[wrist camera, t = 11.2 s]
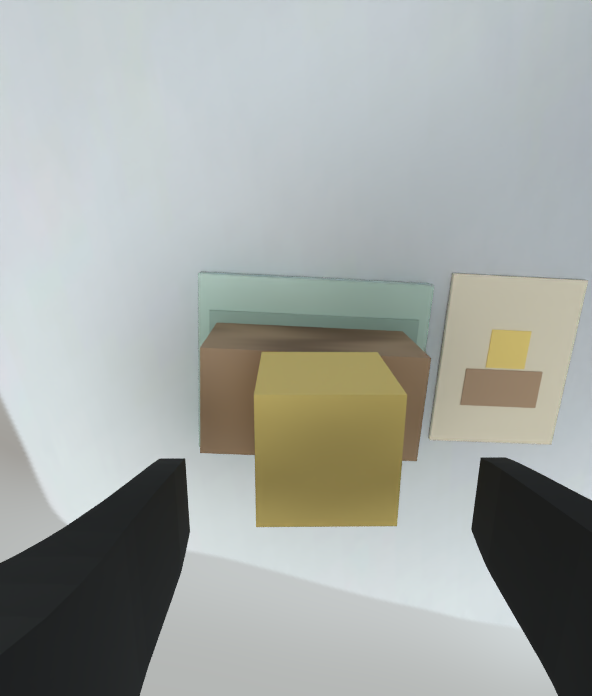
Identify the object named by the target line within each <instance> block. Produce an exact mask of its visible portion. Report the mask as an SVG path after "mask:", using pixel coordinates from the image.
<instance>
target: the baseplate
mask: <svg viewBox="0 0 592 696" xmlns="http://www.w3.org/2000/svg"><path fill="white" fill-rule="evenodd" d="M433 291H434V286H433V285H431V284H429V283H412V282H392V281H373V280H353V279H334V278H314V277H295V276H275V275H255V274H236V273H216V272H200V273H199V274H198V336H199V447H200V347H201V345H202V344H203V342H204V341H205V339H206V338H207V337H208V335H209V334H210V332H211V331H212V329H213V328H214V326H215V325H216V323H238V324H259V325H281V326H302V327H323V328H344V329H365V330H386V331H403V332H404V333H405V334H406V335H407V336H408V337H409V338H410V339H411V340H412V341H413V342H414V343H416V344H417V345H418V346H419V347H420V348H421V349H422V350H423V351H424V352H425V350H426V343H427V336H428V328H429V321H430V313H431V306H432V299H433Z"/></svg>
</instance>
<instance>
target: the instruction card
mask: <svg viewBox="0 0 592 696" xmlns="http://www.w3.org/2000/svg"><path fill="white" fill-rule="evenodd" d="M587 283H588V281H587V280H574V279H555V278H536V277H517V276H497V275H478V274H459V273H452V280H451V287H450V293H449V300H448V307H447V314H446V321H445V328H444V335H443V342H442V349H441V356H440V363H439V369H438V376H437V383H436V390H435V397H434V404H433V411H432V418H431V425H430V432H429V439H430V440H445V441H471V442H496V443H522V444H548V445H551V443H552V439H553V434H554V430H555V425H556V421H557V416H558V412H559V408H560V403H561V399H562V394H563V390H564V385H565V381H566V377H567V372H568V368H569V363H570V359H571V354H572V350H573V346H574V341H575V337H576V332H577V328H578V323H579V319H580V314H581V310H582V306H583V301H584V297H585V292H586V288H587Z"/></svg>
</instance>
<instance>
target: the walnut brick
mask: <svg viewBox="0 0 592 696" xmlns="http://www.w3.org/2000/svg"><path fill="white" fill-rule="evenodd" d="M262 352H378V353H379V355H380V356H381V358H382V359H383V361H384V362H385V364H386V365H387V366H388V368H389V369H390V371H391V372H392V374H393V375H394V376H395V378H396V379H397V381H398V382H399V384H400V385H401V386H402V388H403V389H404V391H405V392H406V394H407V405H406V417H405V430H404V442H403V455H402V461H417V455H418V448H419V441H420V434H421V427H422V419H423V412H424V405H425V398H426V391H427V384H428V376H429V369H430V362H431V358H430V357H429V356H428V355H427V354H426V353H425V352H424V351H423V350H422V349H421V348H420V347H419V346H418V345H417V344H416V343H414V342H413V341H412V340H411V339H410V338H409V337H408V336H407V335H406V334H405V333H404V332H403V331H386V330H365V329H344V328H323V327H302V326H281V325H259V324H238V323H216V325H215V326H214V328H213V329H212V331H211V332H210V334H209V335H208V337H207V338H206V339H205V341H204V342H203V344H202V345H201V347H200V453H215V454H242V455H255V432H254V391H255V386H256V380H257V375H258V369H259V364H260V359H261V353H262Z"/></svg>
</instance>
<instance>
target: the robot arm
mask: <svg viewBox="0 0 592 696" xmlns="http://www.w3.org/2000/svg"><path fill="white" fill-rule="evenodd" d="M471 530H472V532H473V535H474V538H475V540H476V543H477V545H478V548H479V550H480V553H481V555H482V557H483V560H484V562H485V564H486V567H487V569H488V571H489V572H490V574H491V576H492V578H493V580H494V581H495V583H496V585H497V587H498V588H499V590H500V592H501V594H502V595H503V597H504V599H505V601H506V602H507V604H508V606H509V608H510V609H511V611H512V613H513V614H514V616H515V618H516V620H517V621H518V623H519V625H520V626H521V628H522V630H523V632H524V633H525V635H526V637H527V638H528V640H529V642H530V644H531V645H532V647H533V649H534V651H535V652H536V654H537V656H538V657H539V659H540V661H541V663H542V665H543V666H544V668H545V670H546V672H547V674H548V676H549V678H550V680H551V681H552V683H553V686H554V688H555V690H556V692H557V694H558V696H592V500H590V499H588V498H586V497H584V496H582V495H580V494H578V493H576V492H574V491H572V490H570V489H568V488H567V487H565V486H563V485H561V484H559V483H557V482H555V481H553V480H551V479H549V478H548V477H546V476H544V475H542V474H540V473H538V472H536V471H534V470H532V469H530V468H528V467H526V466H524V465H522V464H520V463H518V462H515V461H513V460H511V459H508V458H481V460H480V468H479V475H478V483H477V491H476V498H475V506H474V513H473V521H472V529H471ZM189 533H190V527H189V511H188V495H187V480H186V464H185V459H159V460H157V461H156V462H154V463H153V464H151V465H150V466H149V467H147V468H146V469H145V470H143V471H142V472H141V473H140V474H138V475H137V476H136V477H134V478H133V479H132V480H130V481H129V482H128V483H127V484H125V485H124V486H123V487H121V488H120V489H119V490H117V491H116V492H115V493H113V494H112V495H111V496H109V497H108V498H107V499H105V500H104V501H102V502H101V503H100V504H98V505H97V506H95V507H94V508H92V509H91V510H89V511H88V512H86V513H85V514H83V515H82V516H81V517H79V518H78V519H76V520H75V521H73V522H72V523H70V524H69V525H67V526H66V527H64V528H63V529H61V530H59V531H58V532H56V533H54V534H53V535H51V536H50V537H48V538H46V539H44V540H43V541H41V542H39V543H37V544H36V545H34V546H32V547H30V548H28V549H27V550H25V551H23V552H21V553H19V554H17V555H16V556H14V557H12V558H10V559H8V560H6V561H4V562H2V563H0V696H140V692H141V689H142V685H143V682H144V679H145V675H146V672H147V669H148V666H149V663H150V660H151V657H152V654H153V651H154V649H155V646H156V643H157V640H158V637H159V634H160V631H161V629H162V626H163V623H164V620H165V617H166V614H167V611H168V609H169V606H170V603H171V600H172V597H173V594H174V591H175V588H176V585H177V583H178V579H179V577H180V573H181V571H182V566H183V561H184V557H185V553H186V548H187V543H188V538H189Z"/></svg>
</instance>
